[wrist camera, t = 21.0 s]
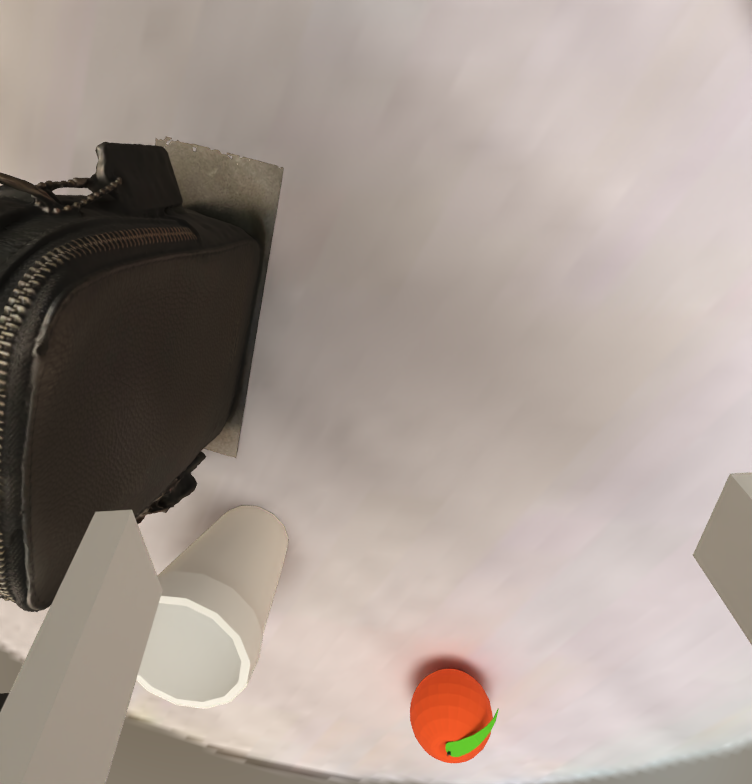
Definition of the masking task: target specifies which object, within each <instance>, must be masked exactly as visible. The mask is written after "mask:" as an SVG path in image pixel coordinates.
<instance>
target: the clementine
mask: <svg viewBox="0 0 752 784" xmlns="http://www.w3.org/2000/svg"><path fill="white" fill-rule="evenodd" d="M498 709H499V708H498ZM497 713H498V710H497V712H496V714H495V716H494V718H493V716H492V711H491V706H490V701H489V699H488V697H487V695H486V693H485V691H484V689H483V688H482V686H481V685H480V684H479V683H478V682H477V681H476V680H475V679H474V678H473V677H471V676H470V675H468V674H467V673H465V672H463V671H460V670H456V669H441V670H437V671H435V672H433V673H432V674H430V675H428V676H426V677H425V678H424V679H423V680H422V681H421V682H420V684H419V685H418V687H417V688H416V690H415V692H414V694H413V697H412V701H411V707H410V721H411V725H412V729H413V731H414V734H415V737H416V739H417V740H418V742H419V744H420V745H421V746H422V747H423V749H424V750H425V751H426V752H427V753H428V754H429V755H431V756H432V757H434V758H436V759H438V760H441V761H443V762H447V763H461V762H466V761H468V760H470V759H472V758H473V757H475V756H476V755H477V754H478V753H479V752H480V751H481V750H483V748H484V746H485V745H486V743H487V741H488V739H489V737H490V734H491V729H492V727H493V725H494V723H495V721H496V717H497Z"/></svg>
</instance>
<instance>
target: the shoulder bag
mask: <svg viewBox="0 0 752 784" xmlns="http://www.w3.org/2000/svg"><path fill="white" fill-rule="evenodd" d="M165 137H166V136H165ZM170 139H172V138H170V137H166V138H165V139H164V140H162V139H160V140H158V139H156V142H155V146H152V145H141V144H138V145H137V144H119V143H108V142H103V143H102V144H100V145H98V146H97V147H96V153H97V156H98V159H99V161H98V163H97V166H96V173H95V174H94V175H92V177H91V178H73V180H68V182H66V181H61V182H52V181H46V183H43V182H40V183H39V184H38V185H33V184H31V183H29V182H27V181H25V180H21V179H18V178H15V177H13V176H10V175H6V174H3V173H0V183H1V184H4V185H2V186H0V598H3V599H4V600H5V601H8V600H11V601H12V602H14V603H17V605H18V606H19V607H20V608H22V609H23V610H25V611H28V612H29V611H31V612H34V611H35V612H38V611H40V610H44V609H46V608H48V607H49V606H50V605H51V604H52V602H53V600H54V598H55V596H56V594H57V592H58V590H59V587H60V585H61V583H62V581H63V579H64V577H65V575H66V573H67V571H68V569H69V566H70V564H71V562H72V560H73V558H74V556H75V554H76V552H77V550H78V548H79V545H80V543H81V541H82V539H83V537H84V535H85V533H86V531H87V529H88V526H89V524H90V522H91V520H92V518H93V516H94V514H95V512H101V511H118V510H132V511H133V514H134V516H135V519H136V522H137V524H139V523H141V521H142V520H143V519H144V518H145V515H147V514H152V513H158V512H164V513H166V512H167V511H168V509H169V508H170V507H174V505H175V504H177V503H178V502H180V500H181V499H182V498H184V497H186V496H188V495H190V494H191V493H192V492H193V491H194V490H195V488H196V486H197V482H196V480H195V478H194V477H193V476H192V475H191V472H192V471H193V470H194V469H195V468H197V465H199V464H200V463H201V461H203V460H204V459H205V458H206V456H205V454H204V453H203V452H201V450H202V449H203V448H204V449H208V450H211V451H214V452H217V453H221V454H224V455H227V456H231V457H235V458H236V453H237V447H238V441H239V435H240V428H241V422H242V417H243V411H244V405H245V398H246V393H247V386H248V380H249V374H250V368H251V362H252V357H253V351H254V344H255V339H256V332H257V327H258V319H259V314H260V308H261V302H262V296H263V290H264V284H265V277H266V272H267V266H268V260H269V254H270V248H271V242H272V236H273V229H274V223H275V218H276V212H277V206H278V199H279V193H280V187H281V182H282V174H283V167H281V168H279V167H278V166H276V165H272V164H268V163H265V162H261V161H257V160H253V159H250V158H246V157H242V158H240V156H238V155H234V154H230V153H227V155H230V156H232V159H230V157H228V156H227V155H225V154H221V152H220V151H219V150H210V148H207V147H203V146H199V145H195V144H188V143H183V142H180V141H178V140H177V141H171V142H170V143H169V145H167V144H166V142H167V141H169V140H170ZM164 146H165V148H164ZM193 147H195V148H196V147H197V148H196V152H194V151H193ZM249 159H250V161H249ZM260 162H261V163H260ZM237 164H238V165H237ZM63 187H74V188H88V189H90V190H91V191H92V192H93V193H92V194H90V195H88V196H82V195H76V196H75V195H55V194H54V193H53V192H52V191H53V190H55V189H57V188H63Z"/></svg>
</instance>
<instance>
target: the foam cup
mask: <svg viewBox="0 0 752 784" xmlns="http://www.w3.org/2000/svg"><path fill="white" fill-rule="evenodd" d="M288 541H289V539H288V536H287V533H286V530H285V527H284V525H283V524H282V523H281V522H280V521H279V520H278V519H277V518H276V517H275V515H274V514H272V513H270V512H268V511H266V510H264V509H262V508H260V507H258V506H245V505H241V506H239V507H236V508H234V509H231V510H229V511H228V512H227V513H225V514H224V515H223V516H222V517H221V518H220V519H219V520H217V521H216V522H215V523H214V524H213V525H212V526H211V527H210V528H209V529H208V530H207V531H206V532H204V533H203V534H202V535H201V536H200V537H199V538H198V539H197V540H196V541H195V542H194V543H193V544H191V545H190V546H189V547H188V548H187V549H186V550H185V551H184V552H183V553H182V554H181V555H179V556H178V557H177V558H176V559H175V560H174V561H173V562H172V563H171V564H170V565H169V566H168V567H166V568H165V569H164V570H163V571H162V572H161V573H160V574H159V575H158V576H157V577H158V579H159V582H160V584H161V587H162V590H163V591H162V594H161V597H160V601H159V604H158V608H157V611H156V614H155V618H154V621H153V624H152V628H151V631H150V635H149V638H148V641H147V645H146V648H145V652H144V655H143V658H142V662H141V665H140V668H139V672H138V675H137V679H136V680H137V681H138V682H139V683H140V684H141V685H142V686H143V687H144V688H145V689H146V690H147V691H148V692H150V693H152V694H154V695H157V696H159V697H161V698H163V699H165V700H167V701H169V702H171V703H173V704H175V705H180V706H188V707H195V708H202V709H207V708H210V707H214V706H218V705H222V704H226V703H230V702H231V701H232V700H233V699H234V698H235V697H236V696H237V695H238V694H239V693H240V692H241V691H242V690H243V689H244V688H245V687H246V686H247V684H248V682H249V680H250V677H251V675H252V673H253V671H254V668H255V666H256V664H257V662H258V660H259V657H260V651H261V645H262V639H263V633H264V630H265V626H266V623H267V619H268V616H269V612H270V609H271V605H272V602H273V598H274V595H275V591H276V588H277V584H278V581H279V577H280V574H281V571H282V567H283V564H284V560H285V556H286V552H287V547H288Z"/></svg>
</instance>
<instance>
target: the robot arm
mask: <svg viewBox="0 0 752 784" xmlns="http://www.w3.org/2000/svg"><path fill="white" fill-rule="evenodd" d="M693 556H694V558H695V559H696V561H697V562H698V564H699V565H700V567H701V568H702V570H703V571H704V573H705V574H706V576H707V578H708V579H709V581H710V582H711V584H712V585H713V587H714V588H715V590H716V591H717V593H718V594H719V596H720V597H721V599H722V600H723V602H724V603H725V605H726V606H727V608H728V610H729V611H730V613H731V614H732V616H733V617H734V619H735V620H736V622H737V623H738V625H739V626H740V628H741V629H742V631H743V632H744V634H745V635H746V637H747V638H748V640H749V641H750V643H751V645H752V473H735V474H730V475H729V477H728V479H727V482H726V484H725V486H724V488H723V490H722V493H721V495H720V497H719V499H718V501H717V504H716V506H715V508H714V510H713V512H712V514H711V517H710V519H709V521H708V523H707V525H706V528H705V530H704V532H703V534H702V536H701V539H700V541H699V543H698V545H697V547H696V550H695V552H694V554H693ZM162 591H163V590H162V587H161V584H160V582H159V579H158V577H157V574H156V571H155V569H154V566H153V563H152V561H151V558H150V556H149V553H148V550H147V548H146V545H145V543H144V540H143V537H142V535H141V532H140V529H139V527H138V524H137V522H136V519H135V516H134V514H133V511H132V510H118V511H101V512H95V514H94V516H93V518H92V520H91V522H90V524H89V526H88V529H87V531H86V533H85V535H84V537H83V539H82V541H81V543H80V545H79V548H78V550H77V552H76V554H75V556H74V558H73V560H72V562H71V564H70V566H69V569H68V571H67V573H66V575H65V577H64V579H63V581H62V583H61V585H60V587H59V590H58V592H57V594H56V596H55V598H54V600H53V602H52V604H51V606H50V609H49V611H48V613H47V615H46V617H45V619H44V621H43V623H42V625H41V627H40V630H39V632H38V634H37V636H36V638H35V640H34V642H33V644H32V646H31V648H30V651H29V653H28V655H27V657H26V659H25V661H24V663H23V665H22V667H21V670H20V672H19V674H18V676H17V678H16V680H15V682H14V684H13V686H12V689H11V691H10V693H4V694H0V784H105V783H106V780H107V777H108V773H109V770H110V767H111V763H112V760H113V756H114V753H115V749H116V746H117V742H118V739H119V736H120V733H121V729H122V726H123V723H124V719H125V716H126V712H127V709H128V706H129V702H130V699H131V695H132V692H133V689H134V685H135V682H136V679H137V675H138V672H139V668H140V665H141V662H142V658H143V655H144V652H145V648H146V645H147V641H148V638H149V635H150V631H151V628H152V624H153V621H154V618H155V614H156V611H157V608H158V604H159V601H160V597H161V594H162Z"/></svg>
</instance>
